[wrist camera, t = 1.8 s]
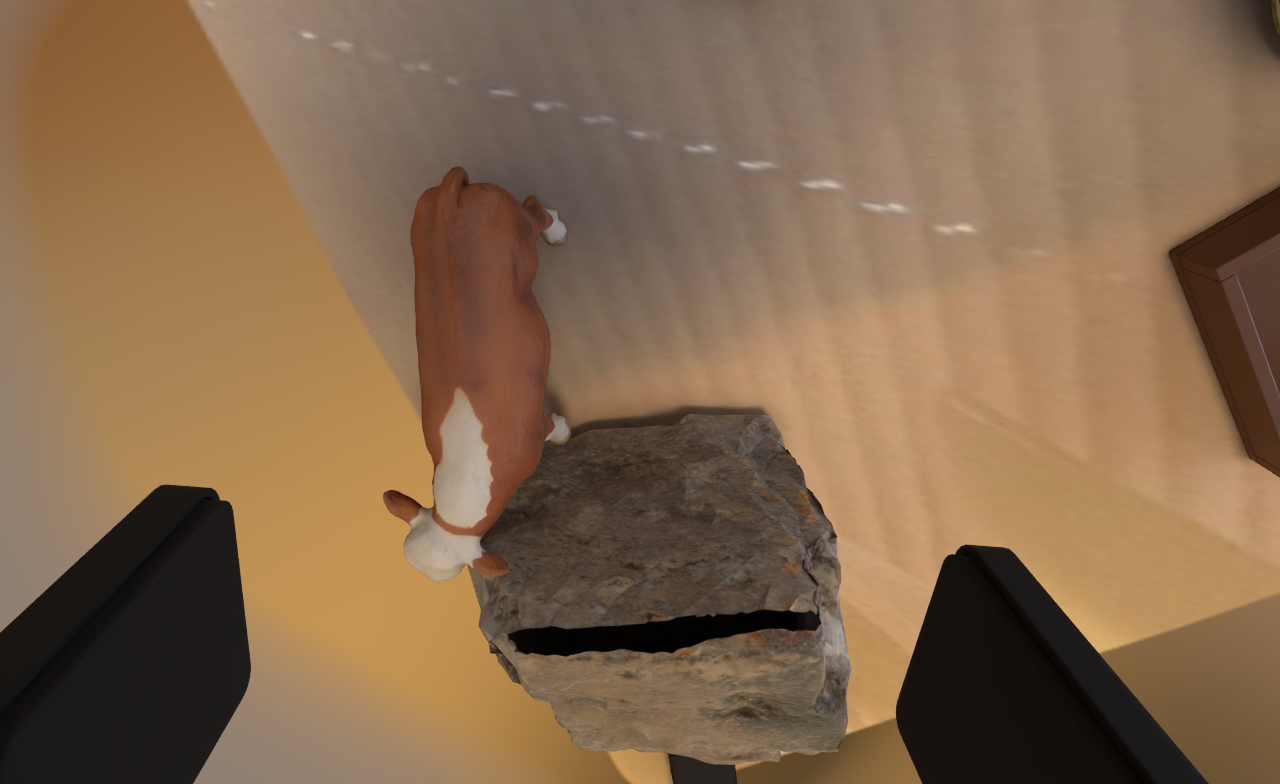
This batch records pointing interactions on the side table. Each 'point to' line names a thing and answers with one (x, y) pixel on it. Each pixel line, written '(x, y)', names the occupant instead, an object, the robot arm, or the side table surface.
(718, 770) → the toy car
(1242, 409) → the serving tray
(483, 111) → the side table surface
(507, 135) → the side table surface
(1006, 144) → the side table surface
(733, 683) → the stone
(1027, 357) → the side table surface
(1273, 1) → the beverage can
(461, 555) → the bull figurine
